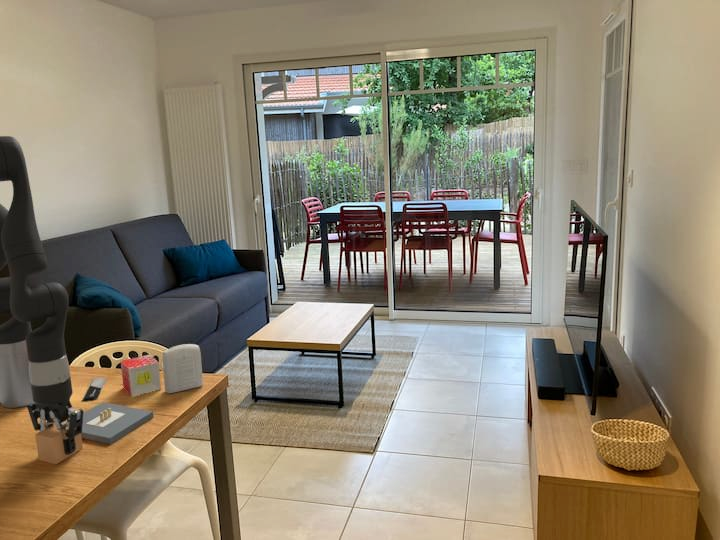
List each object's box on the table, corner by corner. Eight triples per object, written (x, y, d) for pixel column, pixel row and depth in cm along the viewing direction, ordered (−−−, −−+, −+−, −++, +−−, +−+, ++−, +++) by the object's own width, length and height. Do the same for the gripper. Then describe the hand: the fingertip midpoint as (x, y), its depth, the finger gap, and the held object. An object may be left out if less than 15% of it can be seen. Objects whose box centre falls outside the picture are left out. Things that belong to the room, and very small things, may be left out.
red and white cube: (131, 397, 156) (128, 369, 154) (123, 387, 162) (120, 360, 160) (161, 389, 160) (159, 362, 159) (152, 380, 167) (150, 354, 165)
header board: (57, 432, 137) (55, 418, 136) (103, 407, 150) (101, 394, 149) (110, 444, 131) (108, 429, 131) (153, 417, 144) (152, 403, 143)
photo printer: (200, 381, 165) (196, 339, 163) (205, 386, 162) (201, 343, 159) (163, 390, 160) (159, 347, 157) (167, 395, 156) (163, 351, 154)
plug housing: (38, 460, 125) (35, 434, 124) (65, 444, 132) (62, 419, 130) (56, 464, 123) (52, 438, 122) (82, 448, 130) (79, 423, 129)
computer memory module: (92, 378, 168) (107, 376, 168) (92, 381, 168) (107, 380, 169) (81, 399, 154) (97, 397, 154) (81, 403, 154) (97, 401, 155)
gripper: (9, 379, 123) (21, 453, 127) (60, 388, 118) (71, 465, 121) (40, 366, 130) (51, 437, 133) (90, 374, 125) (99, 448, 128)
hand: (60, 450), depth 127 cm, fingers closed on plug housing, 5 cm apart
